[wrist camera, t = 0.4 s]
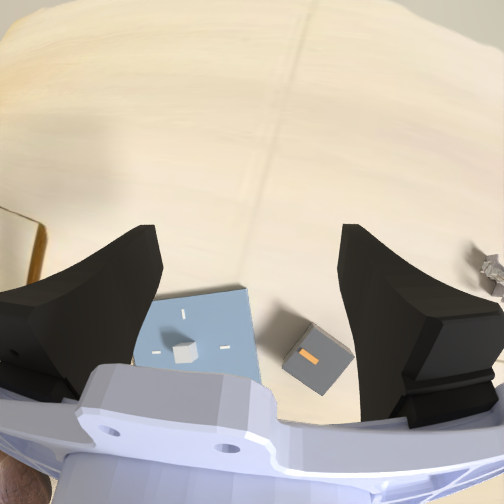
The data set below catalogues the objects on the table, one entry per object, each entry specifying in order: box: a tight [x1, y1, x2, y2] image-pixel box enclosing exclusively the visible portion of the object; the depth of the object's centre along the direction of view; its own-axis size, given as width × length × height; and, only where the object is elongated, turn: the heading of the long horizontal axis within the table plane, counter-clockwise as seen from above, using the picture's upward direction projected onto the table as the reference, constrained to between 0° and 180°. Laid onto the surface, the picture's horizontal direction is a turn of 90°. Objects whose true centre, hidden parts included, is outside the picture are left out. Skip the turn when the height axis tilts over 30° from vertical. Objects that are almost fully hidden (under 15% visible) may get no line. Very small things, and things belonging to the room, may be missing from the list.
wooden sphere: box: [0, 450, 52, 504], centre depth 34 cm, size 15×15×15 cm
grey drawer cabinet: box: [282, 322, 355, 396], centre depth 34 cm, size 6×6×4 cm
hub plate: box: [133, 289, 262, 385], centre depth 37 cm, size 13×16×4 cm
